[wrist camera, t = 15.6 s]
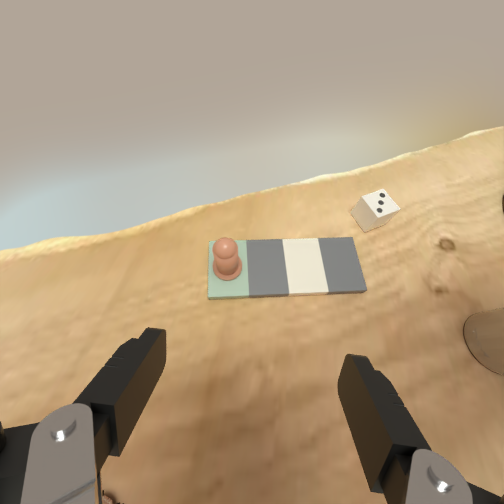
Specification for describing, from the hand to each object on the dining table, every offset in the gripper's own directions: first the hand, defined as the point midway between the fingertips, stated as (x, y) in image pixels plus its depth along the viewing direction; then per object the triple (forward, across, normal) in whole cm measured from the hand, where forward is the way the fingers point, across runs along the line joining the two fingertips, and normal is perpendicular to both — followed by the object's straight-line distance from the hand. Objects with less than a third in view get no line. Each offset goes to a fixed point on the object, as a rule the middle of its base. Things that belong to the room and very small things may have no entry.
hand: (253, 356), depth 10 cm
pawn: (+28, +5, +8) cm, 29 cm away
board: (+30, -5, +8) cm, 31 cm away
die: (+39, -21, -2) cm, 45 cm away
